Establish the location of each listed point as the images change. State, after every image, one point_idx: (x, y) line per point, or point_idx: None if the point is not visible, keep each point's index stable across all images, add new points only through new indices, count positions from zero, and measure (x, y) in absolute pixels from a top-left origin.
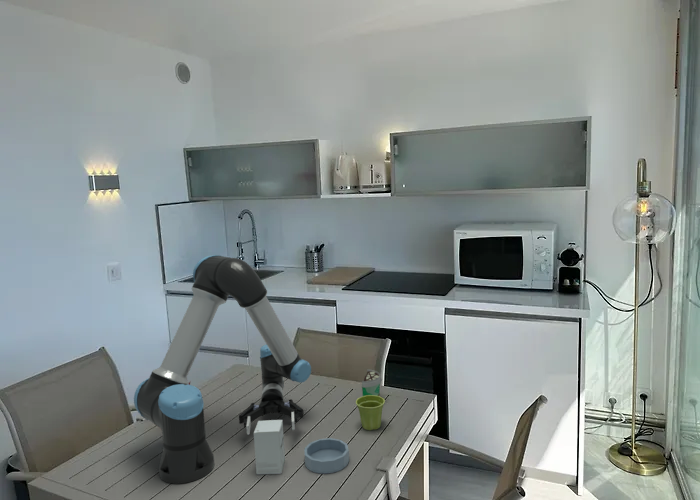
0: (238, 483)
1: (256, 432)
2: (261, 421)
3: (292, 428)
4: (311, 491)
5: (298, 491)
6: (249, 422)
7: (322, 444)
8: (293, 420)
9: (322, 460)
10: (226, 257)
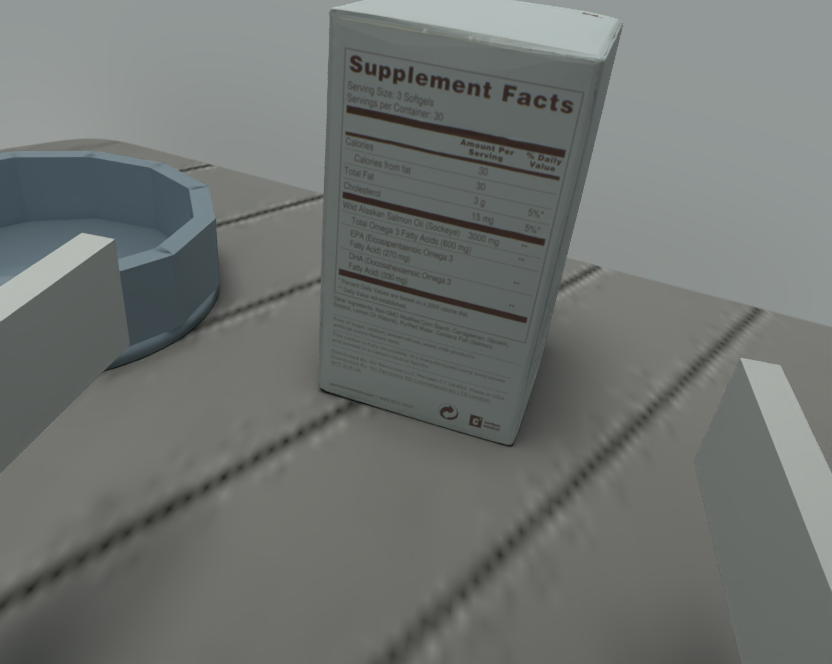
0: (648, 325)
1: (598, 16)
2: (564, 42)
3: (124, 326)
4: (291, 195)
5: None
6: (771, 462)
7: None
8: (73, 247)
9: (152, 166)
10: None
